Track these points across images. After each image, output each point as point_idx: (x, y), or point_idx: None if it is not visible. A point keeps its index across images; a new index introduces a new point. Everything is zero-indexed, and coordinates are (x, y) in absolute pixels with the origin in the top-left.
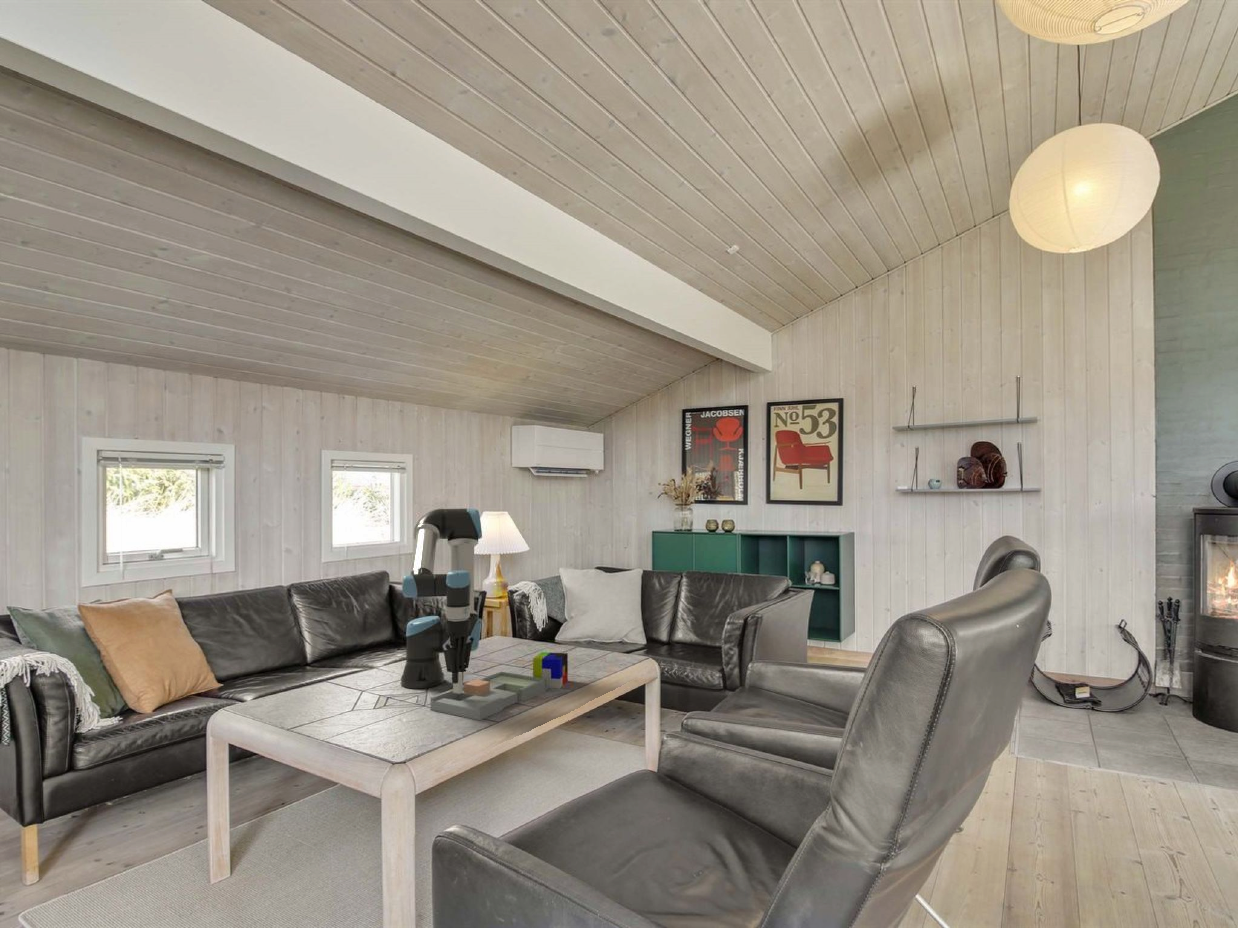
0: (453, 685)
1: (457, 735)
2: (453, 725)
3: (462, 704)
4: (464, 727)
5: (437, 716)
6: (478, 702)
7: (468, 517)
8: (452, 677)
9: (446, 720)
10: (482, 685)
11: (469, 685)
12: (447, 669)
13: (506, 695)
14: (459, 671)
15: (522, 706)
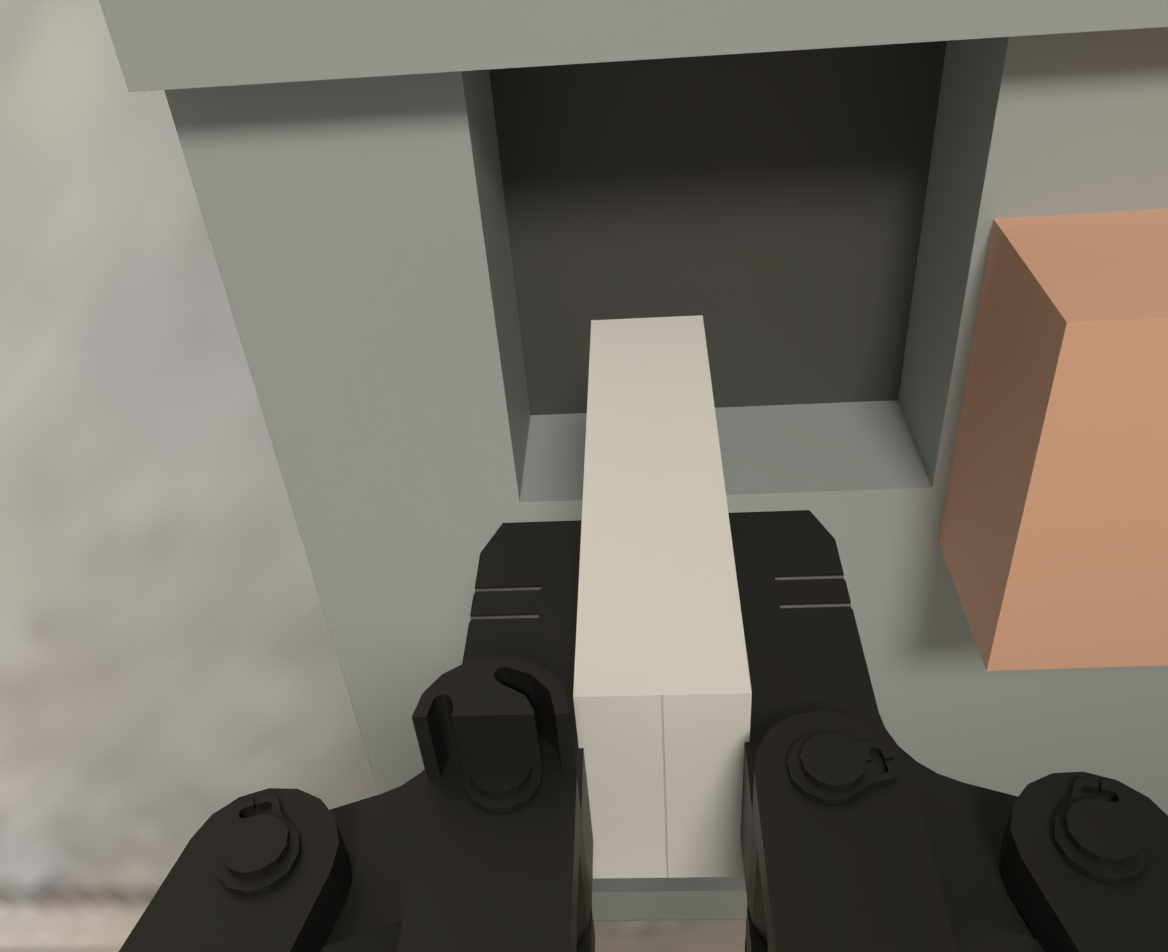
0: (589, 427)
1: (5, 851)
2: (113, 689)
3: (424, 631)
4: (175, 789)
5: (119, 327)
6: None
7: None
8: (471, 649)
9: (136, 534)
10: (1124, 651)
11: (1023, 468)
12: (170, 910)
13: None
14: (745, 800)
15: None
